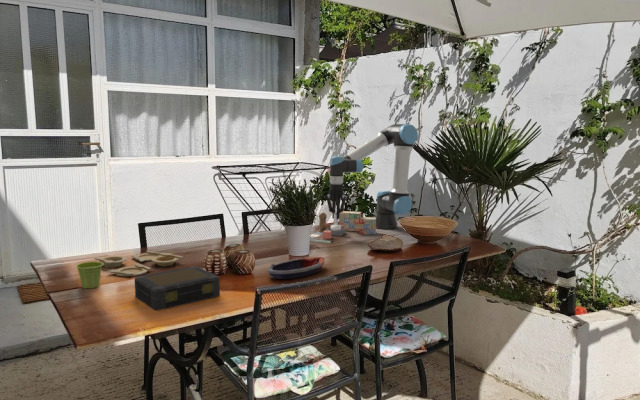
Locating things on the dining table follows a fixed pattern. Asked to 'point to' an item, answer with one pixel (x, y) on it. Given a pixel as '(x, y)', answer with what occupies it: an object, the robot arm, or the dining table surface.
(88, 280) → the plant pot
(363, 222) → the stack of blocks
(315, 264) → the dish
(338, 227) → the dome
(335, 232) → the board
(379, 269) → the dining table surface
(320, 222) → the pawn
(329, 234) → the die
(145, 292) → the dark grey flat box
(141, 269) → the tableware set
